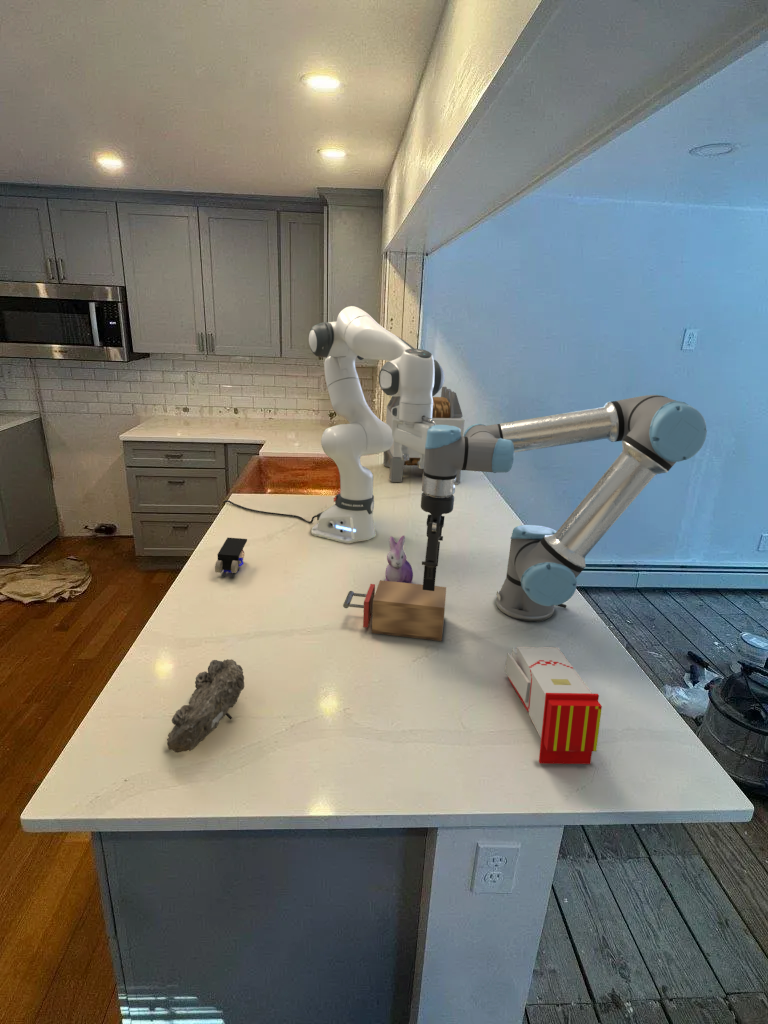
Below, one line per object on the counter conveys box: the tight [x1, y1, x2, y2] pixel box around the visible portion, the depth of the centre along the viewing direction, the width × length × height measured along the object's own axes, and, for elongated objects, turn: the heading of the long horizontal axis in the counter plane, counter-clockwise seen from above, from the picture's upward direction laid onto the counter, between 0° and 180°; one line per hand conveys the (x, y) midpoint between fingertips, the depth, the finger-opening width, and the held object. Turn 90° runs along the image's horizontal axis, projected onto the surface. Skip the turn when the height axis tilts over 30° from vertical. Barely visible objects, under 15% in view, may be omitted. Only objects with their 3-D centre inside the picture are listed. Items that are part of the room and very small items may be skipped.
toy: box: [504, 646, 603, 765], centre depth 112 cm, size 12×13×30 cm
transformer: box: [383, 386, 465, 484], centre depth 268 cm, size 34×33×41 cm
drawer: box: [342, 583, 376, 628], centre depth 142 cm, size 21×10×7 cm, turn 82°
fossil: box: [166, 658, 245, 754], centre depth 106 cm, size 22×10×15 cm
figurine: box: [384, 535, 414, 584], centre depth 160 cm, size 9×10×15 cm
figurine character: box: [214, 537, 248, 578], centre depth 166 cm, size 7×8×15 cm
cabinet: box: [371, 579, 448, 642], centre depth 141 cm, size 17×11×9 cm, turn 82°
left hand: (413, 464), depth 154 cm, fingers open, 8 cm apart
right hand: (430, 577), depth 137 cm, fingers open, 13 cm apart
